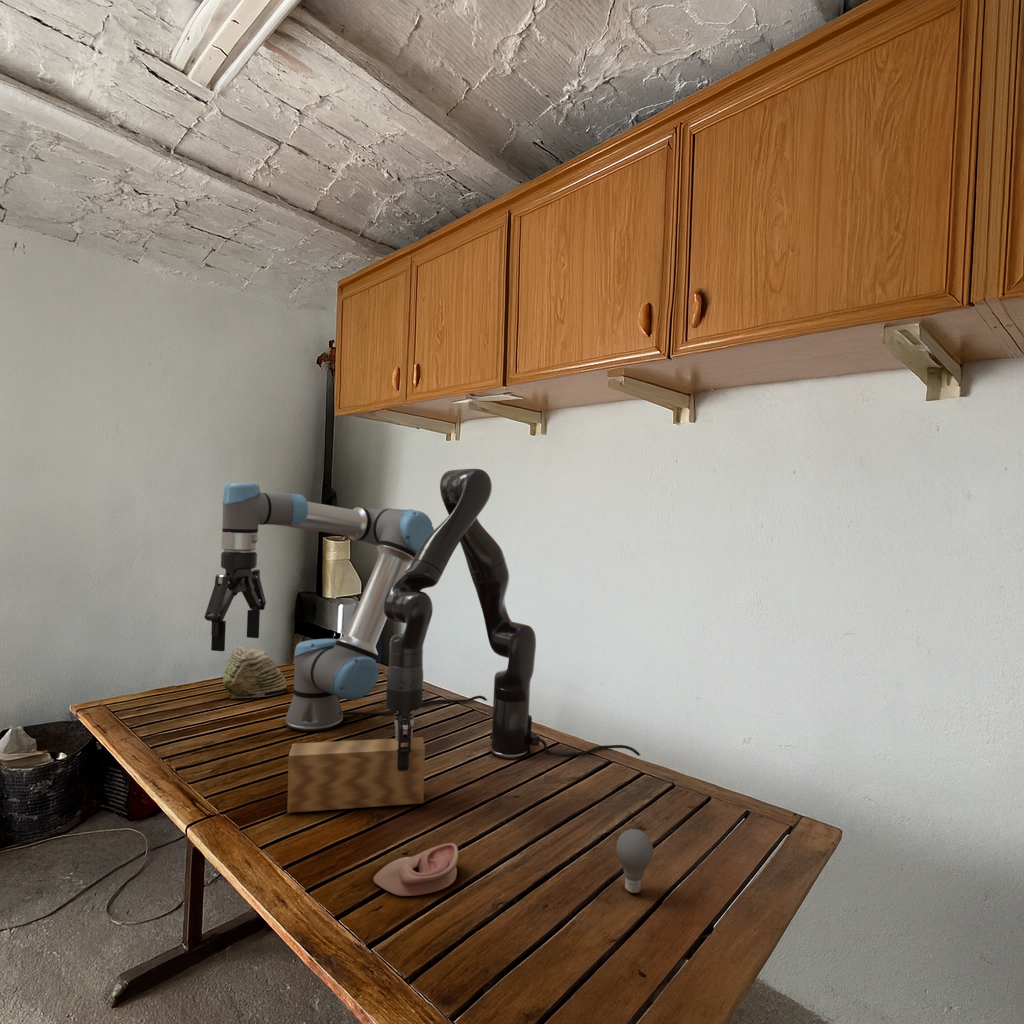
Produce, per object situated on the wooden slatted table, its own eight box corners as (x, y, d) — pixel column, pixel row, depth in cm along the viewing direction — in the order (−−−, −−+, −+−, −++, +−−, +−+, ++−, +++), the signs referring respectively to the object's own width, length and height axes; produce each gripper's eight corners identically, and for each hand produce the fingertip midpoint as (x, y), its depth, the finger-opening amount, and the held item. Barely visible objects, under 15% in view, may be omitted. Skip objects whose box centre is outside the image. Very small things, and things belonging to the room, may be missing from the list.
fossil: (218, 695, 195) (220, 647, 195) (278, 685, 208) (279, 640, 207) (228, 703, 189) (230, 653, 188) (289, 692, 201) (290, 645, 201)
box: (287, 813, 125) (288, 755, 125) (291, 798, 132) (292, 743, 131) (423, 803, 131) (424, 748, 131) (421, 789, 137) (422, 737, 137)
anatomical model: (366, 866, 102) (393, 830, 114) (365, 890, 103) (392, 852, 114) (444, 879, 100) (464, 841, 111) (443, 904, 100) (463, 864, 111)
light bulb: (610, 879, 108) (613, 822, 108) (644, 879, 109) (647, 822, 109) (619, 902, 102) (622, 840, 102) (655, 901, 103) (658, 840, 103)
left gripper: (221, 556, 131) (217, 658, 131) (282, 548, 156) (279, 633, 156) (188, 554, 132) (184, 655, 133) (254, 546, 157) (251, 631, 157)
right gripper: (425, 694, 127) (422, 777, 127) (420, 674, 141) (417, 748, 141) (387, 695, 125) (384, 779, 125) (386, 675, 139) (383, 750, 139)
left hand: (236, 644), depth 144 cm, fingers open, 13 cm apart
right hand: (402, 762), depth 133 cm, fingers open, 6 cm apart
